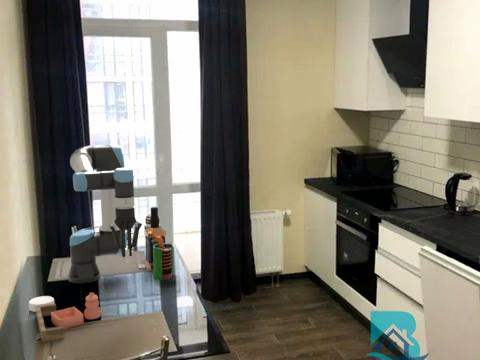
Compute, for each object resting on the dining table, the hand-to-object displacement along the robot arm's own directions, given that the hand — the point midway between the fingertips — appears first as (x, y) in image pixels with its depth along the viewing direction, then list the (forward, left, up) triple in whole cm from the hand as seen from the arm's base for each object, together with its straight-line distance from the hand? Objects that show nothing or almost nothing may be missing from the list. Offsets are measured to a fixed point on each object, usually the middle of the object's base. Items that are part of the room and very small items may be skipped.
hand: (127, 264), depth 210 cm
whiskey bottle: (-50, +26, -20) cm, 59 cm away
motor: (-35, +25, -20) cm, 47 cm away
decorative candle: (-65, +29, -20) cm, 74 cm away
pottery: (+1, -20, -20) cm, 28 cm away
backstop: (+2, -31, -20) cm, 37 cm away
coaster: (-20, -32, -20) cm, 43 cm away
